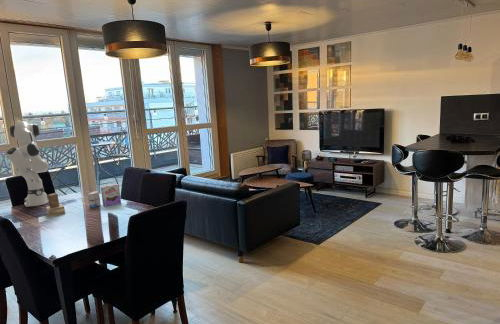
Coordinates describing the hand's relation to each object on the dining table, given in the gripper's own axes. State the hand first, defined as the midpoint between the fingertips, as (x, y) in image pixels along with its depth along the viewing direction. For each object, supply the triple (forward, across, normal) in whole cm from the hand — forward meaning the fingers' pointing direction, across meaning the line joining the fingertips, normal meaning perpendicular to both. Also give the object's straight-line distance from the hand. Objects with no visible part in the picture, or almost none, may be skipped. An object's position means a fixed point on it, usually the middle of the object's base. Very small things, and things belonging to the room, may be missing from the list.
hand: (35, 182), depth 262 cm
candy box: (+42, -28, -29) cm, 58 cm away
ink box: (+39, -19, -20) cm, 47 cm away
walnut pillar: (+22, -7, +2) cm, 24 cm away
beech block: (+28, -7, +4) cm, 29 cm away
